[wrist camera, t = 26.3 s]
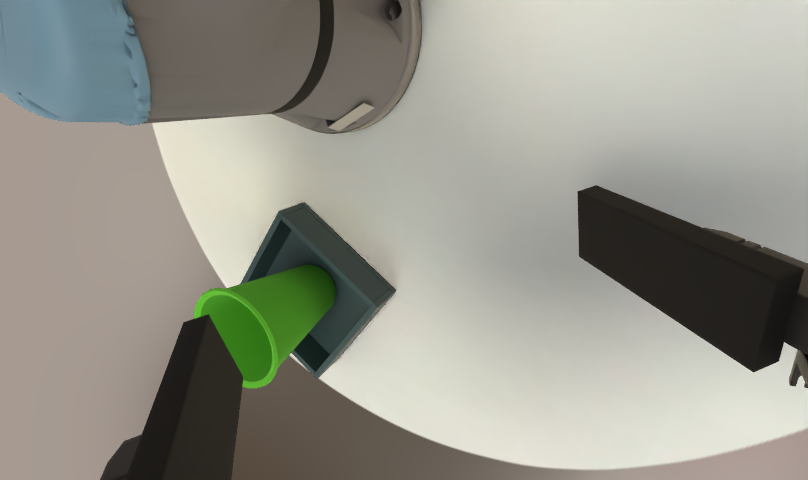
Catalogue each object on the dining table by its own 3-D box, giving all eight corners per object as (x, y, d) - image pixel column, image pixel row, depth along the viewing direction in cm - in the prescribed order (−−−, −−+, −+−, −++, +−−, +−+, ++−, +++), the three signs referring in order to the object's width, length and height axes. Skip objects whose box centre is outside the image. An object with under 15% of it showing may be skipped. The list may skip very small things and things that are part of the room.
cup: (342, 243, 39) (256, 289, 30) (361, 328, 41) (287, 396, 32) (273, 246, 43) (180, 288, 34) (294, 323, 45) (212, 382, 36)
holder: (259, 281, 47) (234, 294, 44) (304, 202, 40) (278, 210, 37) (336, 360, 45) (316, 379, 42) (396, 290, 39) (378, 307, 36)
